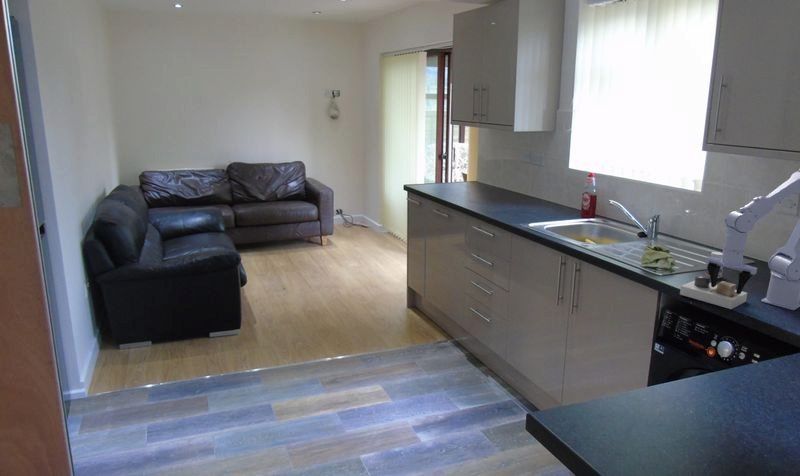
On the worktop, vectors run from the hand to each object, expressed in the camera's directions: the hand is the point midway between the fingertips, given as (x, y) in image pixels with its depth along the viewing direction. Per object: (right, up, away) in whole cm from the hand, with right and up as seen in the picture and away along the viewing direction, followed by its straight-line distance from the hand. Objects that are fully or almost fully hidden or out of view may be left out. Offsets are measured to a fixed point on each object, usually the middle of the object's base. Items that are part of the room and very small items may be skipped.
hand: (725, 289), depth 184 cm
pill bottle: (+11, +2, +27) cm, 30 cm away
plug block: (0, -4, +1) cm, 4 cm away
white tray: (-2, -3, +4) cm, 5 cm away
